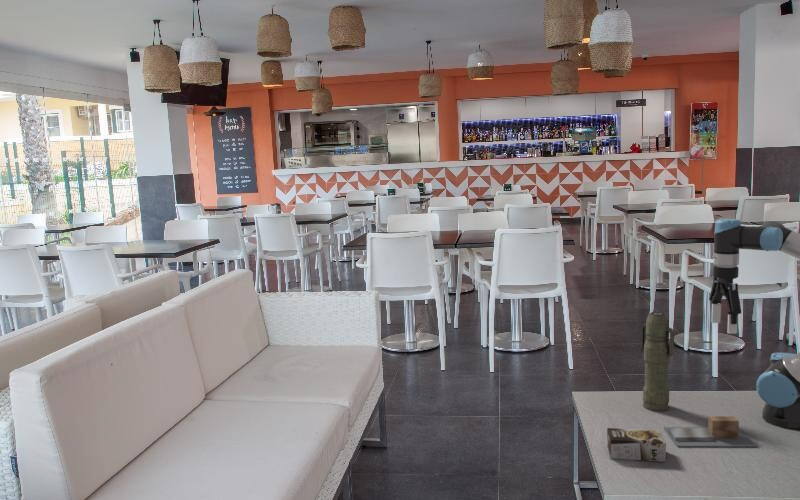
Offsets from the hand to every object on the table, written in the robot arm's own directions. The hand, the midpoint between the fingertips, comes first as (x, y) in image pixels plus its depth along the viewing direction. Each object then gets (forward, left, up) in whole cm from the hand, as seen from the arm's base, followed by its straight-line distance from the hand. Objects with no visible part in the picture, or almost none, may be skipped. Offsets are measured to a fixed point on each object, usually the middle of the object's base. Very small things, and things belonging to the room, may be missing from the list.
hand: (723, 327), depth 220 cm
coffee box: (+27, +27, -29) cm, 48 cm away
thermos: (+18, -12, -33) cm, 39 cm away
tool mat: (+9, +14, -33) cm, 37 cm away
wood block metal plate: (+11, +14, -32) cm, 37 cm away
